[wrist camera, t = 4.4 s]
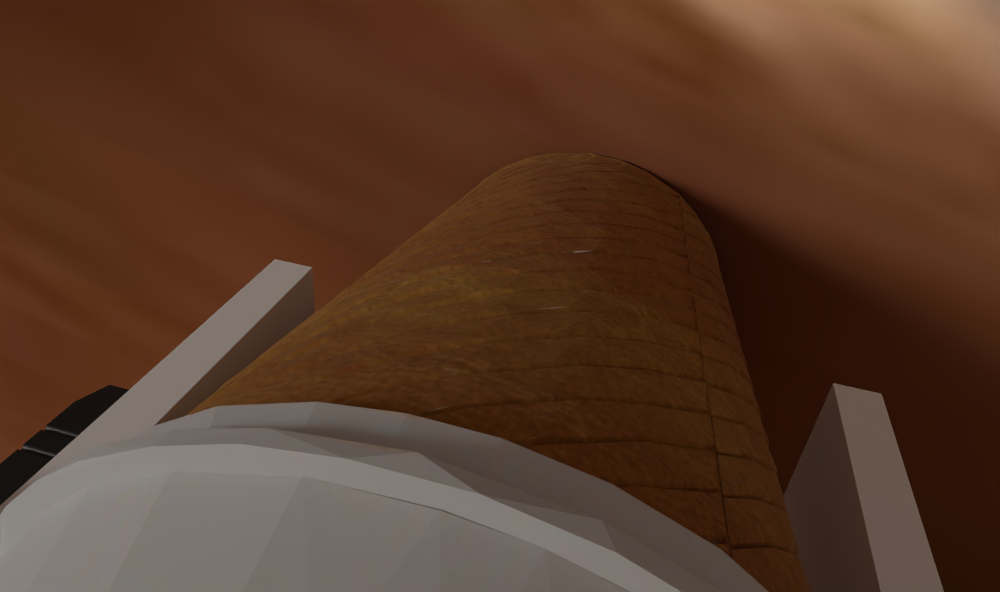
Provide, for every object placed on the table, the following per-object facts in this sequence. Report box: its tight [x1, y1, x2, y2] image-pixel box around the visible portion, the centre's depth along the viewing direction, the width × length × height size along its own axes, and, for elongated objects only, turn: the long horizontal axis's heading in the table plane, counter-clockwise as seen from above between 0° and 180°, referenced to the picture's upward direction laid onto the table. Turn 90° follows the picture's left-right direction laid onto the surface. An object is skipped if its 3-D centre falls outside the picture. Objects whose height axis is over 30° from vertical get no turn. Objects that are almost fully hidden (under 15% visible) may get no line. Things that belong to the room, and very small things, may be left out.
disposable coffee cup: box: [0, 153, 812, 592], centre depth 11 cm, size 10×10×12 cm
